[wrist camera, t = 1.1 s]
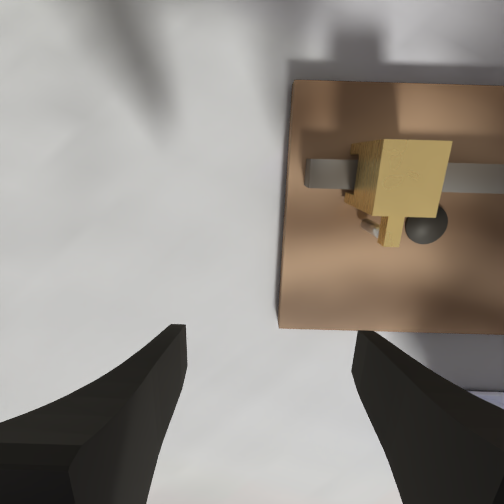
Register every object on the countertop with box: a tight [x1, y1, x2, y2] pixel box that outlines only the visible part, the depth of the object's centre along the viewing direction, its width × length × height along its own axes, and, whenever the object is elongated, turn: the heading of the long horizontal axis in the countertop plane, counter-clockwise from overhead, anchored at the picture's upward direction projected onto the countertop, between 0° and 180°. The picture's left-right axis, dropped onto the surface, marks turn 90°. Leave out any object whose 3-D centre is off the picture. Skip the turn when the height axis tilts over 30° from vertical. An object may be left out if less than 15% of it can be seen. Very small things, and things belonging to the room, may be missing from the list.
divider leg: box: [344, 139, 453, 247], centre depth 16 cm, size 5×3×5 cm, turn 179°
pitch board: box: [278, 80, 504, 335], centre depth 17 cm, size 16×21×7 cm
